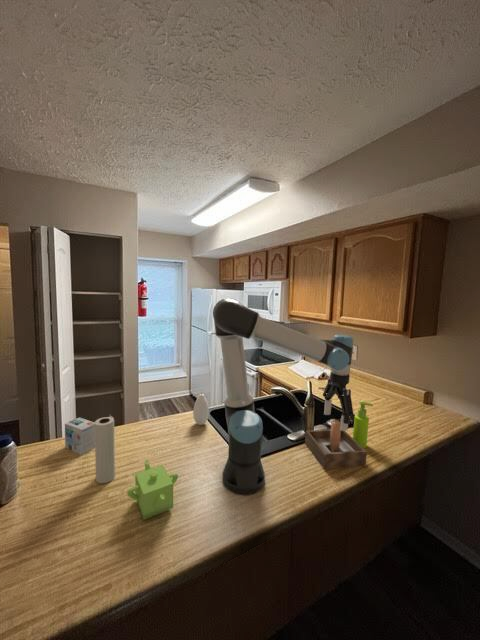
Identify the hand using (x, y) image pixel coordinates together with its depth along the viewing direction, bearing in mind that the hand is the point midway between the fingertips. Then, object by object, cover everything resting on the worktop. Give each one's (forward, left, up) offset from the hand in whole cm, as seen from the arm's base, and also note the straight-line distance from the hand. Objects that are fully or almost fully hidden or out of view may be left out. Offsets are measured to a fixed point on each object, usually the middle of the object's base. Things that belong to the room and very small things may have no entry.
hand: (334, 421), depth 114 cm
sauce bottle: (-55, +31, -15) cm, 64 cm away
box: (0, 0, -14) cm, 14 cm away
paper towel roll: (-89, -4, -15) cm, 90 cm away
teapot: (-71, -19, -15) cm, 75 cm away
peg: (+1, 0, -14) cm, 14 cm away
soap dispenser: (+16, +5, -15) cm, 22 cm away
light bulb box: (-105, +16, -15) cm, 107 cm away
